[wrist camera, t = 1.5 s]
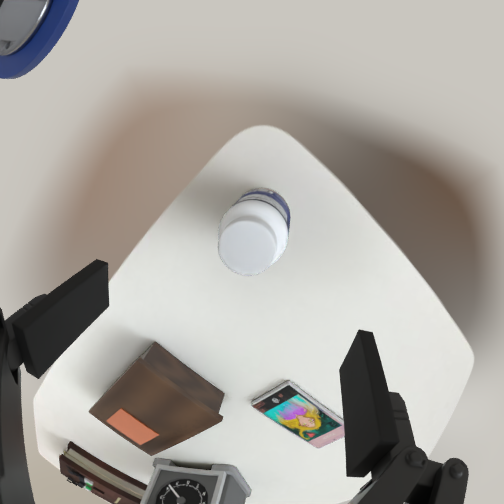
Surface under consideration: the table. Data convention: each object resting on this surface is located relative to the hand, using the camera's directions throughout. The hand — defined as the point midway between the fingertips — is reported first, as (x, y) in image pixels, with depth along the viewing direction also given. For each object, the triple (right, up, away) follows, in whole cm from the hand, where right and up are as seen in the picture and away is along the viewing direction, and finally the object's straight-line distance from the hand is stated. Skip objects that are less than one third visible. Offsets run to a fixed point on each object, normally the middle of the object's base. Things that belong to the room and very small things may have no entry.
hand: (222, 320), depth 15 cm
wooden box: (-13, -19, +28) cm, 36 cm away
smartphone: (+9, -20, +24) cm, 33 cm away
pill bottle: (+3, +7, +15) cm, 17 cm away
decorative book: (-39, -59, +48) cm, 86 cm away
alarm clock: (-9, -44, +37) cm, 58 cm away
